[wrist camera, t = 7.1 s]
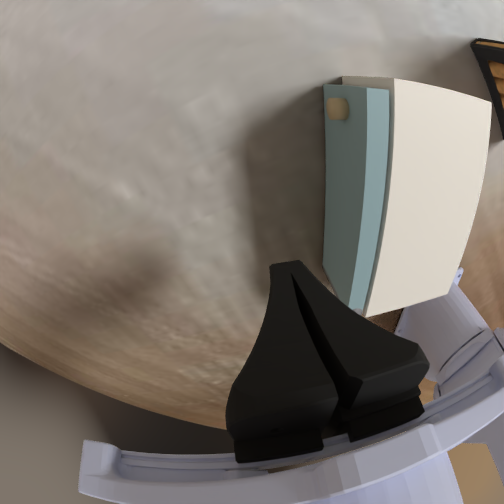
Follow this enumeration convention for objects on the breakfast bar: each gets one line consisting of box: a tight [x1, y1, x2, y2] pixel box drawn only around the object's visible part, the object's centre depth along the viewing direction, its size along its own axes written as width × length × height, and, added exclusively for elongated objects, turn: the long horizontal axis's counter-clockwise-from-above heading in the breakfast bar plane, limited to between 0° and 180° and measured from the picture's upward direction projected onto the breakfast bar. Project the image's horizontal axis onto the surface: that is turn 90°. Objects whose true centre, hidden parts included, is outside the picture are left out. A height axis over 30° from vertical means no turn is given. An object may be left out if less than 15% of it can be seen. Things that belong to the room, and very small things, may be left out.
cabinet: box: [342, 76, 492, 318], centre depth 16 cm, size 15×8×6 cm, turn 6°
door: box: [322, 84, 389, 316], centre depth 16 cm, size 14×2×6 cm, turn 6°
